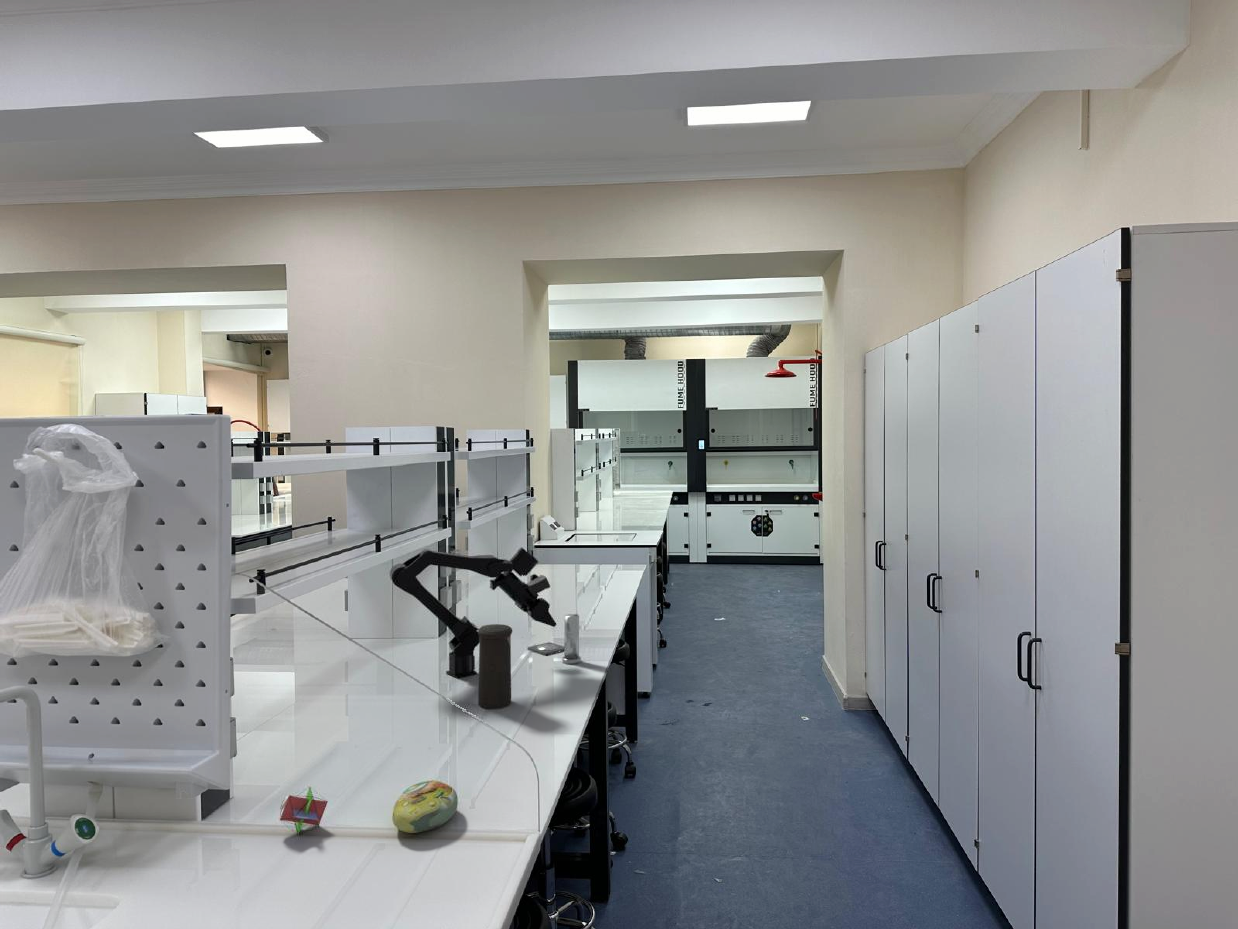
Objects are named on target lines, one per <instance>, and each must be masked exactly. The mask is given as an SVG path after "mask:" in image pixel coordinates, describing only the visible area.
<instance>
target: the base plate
mask: <svg viewBox="0 0 1238 929" xmlns="http://www.w3.org/2000/svg"><path fill="white" fill-rule="evenodd" d="M526 649H527V651H530V650H531V651H530V652H533V653H536V654H539V655H542V654H543V655H542V656H548V655H547V654H550V655H553V653H554V654H557V653H556V652H558V653H560V652H559V651H562V652H564V651H563V650H564V645H559V644H556V643H553V642H551V641H550V642H549V641H548V642H544V643H539V644H536V645H535V644H534V645H531V646H527V648H526Z"/></svg>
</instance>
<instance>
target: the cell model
mask: <svg viewBox="0 0 1238 929" xmlns="http://www.w3.org/2000/svg"><path fill="white" fill-rule="evenodd" d="M458 800H459V799H458V795H457V791H456V790H455V789H454V788H453V787H452V786H450V785H449V784H447V783H444V782H442V781H440V780H433V779H432V780H426V781H422V782H418V783H415V784H413V785H411V786H409V787H408V788H406V789H405V790H404V791H403V792H402V793H401V794H400V795H399V796H398V798H397V799H396V801H395V803H394V806H393V810H392V816H391V818H392V822H393V825H394V826H395V828H397V830H399V831H401V832H404V833H409V834H410V833H411V834H415V833H421V832H422V833H423V832H425V831H430V830H433V829H436V828H438V827H440V826H441V825H443V824H445V823H447V822H449V820H450V819H452V817H453V816H454V815H455V813H456V811H457V809H458V805H459V804H458V802H459V801H458Z"/></svg>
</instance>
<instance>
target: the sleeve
mask: <svg viewBox="0 0 1238 929" xmlns="http://www.w3.org/2000/svg"><path fill="white" fill-rule="evenodd" d="M563 620H564V625H563V626H564V633H563V634H564V639H563V640H564V645H563V647H564V651H563V653H564V654H563V656H562V658H561V659H562V660H561V662H562V661H563V662H564V663H566V664H565V665H578V663H579V664H580V663H581V662H582V657H581V656H580V615H579V614H577V613H569V614H565V615H564V619H563ZM563 662H562V663H563ZM564 663H563V664H564Z"/></svg>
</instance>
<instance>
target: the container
mask: <svg viewBox="0 0 1238 929" xmlns="http://www.w3.org/2000/svg"><path fill="white" fill-rule="evenodd" d="M478 629H479V630H477V631H478V634H479V636H480V637H479V644H478V646H479V647H478V649H479V652H478V691H477V692H478V693H477V695H478V698H477V700H478V701H477V702H478V703H477V706H479V707H480V708H483V709H489V710H491V709H492V710H495V709H501V708H505V707H508V706H510V704H512V663H511V662H512V658H511V657H512V655H511V654H512V652H511V650H512V649H511V648H512V644H511V642H512V641H511V636H512V633H513V628H512V627H511V626H510V625H506V624H497V623H493V624H486V625H482V626H480V627H479V628H478Z"/></svg>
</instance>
